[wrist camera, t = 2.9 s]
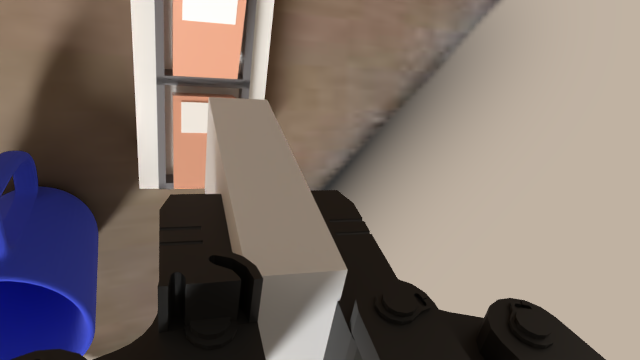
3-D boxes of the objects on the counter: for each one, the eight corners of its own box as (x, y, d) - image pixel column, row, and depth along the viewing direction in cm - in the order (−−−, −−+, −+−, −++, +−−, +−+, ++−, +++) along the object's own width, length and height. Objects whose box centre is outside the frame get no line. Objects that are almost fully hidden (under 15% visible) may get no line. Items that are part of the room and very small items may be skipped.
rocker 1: (172, -38, 21) (172, -23, 20) (244, -29, 22) (248, -14, 21) (172, 60, 24) (173, 76, 23) (234, 63, 25) (237, 79, 24)
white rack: (124, -258, 21) (115, -291, 17) (276, -219, 23) (303, -239, 19) (141, 152, 32) (138, 198, 27) (245, 152, 34) (258, 195, 30)
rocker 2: (172, 92, 25) (173, 95, 24) (232, 94, 26) (236, 98, 25) (173, 181, 27) (173, 189, 25) (230, 180, 28) (233, 188, 26)
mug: (96, 115, 30) (73, 206, 22) (115, 261, 36) (102, 373, 28) (-59, 115, 27) (-150, 217, 19) (-10, 271, 34) (-64, 397, 25)
